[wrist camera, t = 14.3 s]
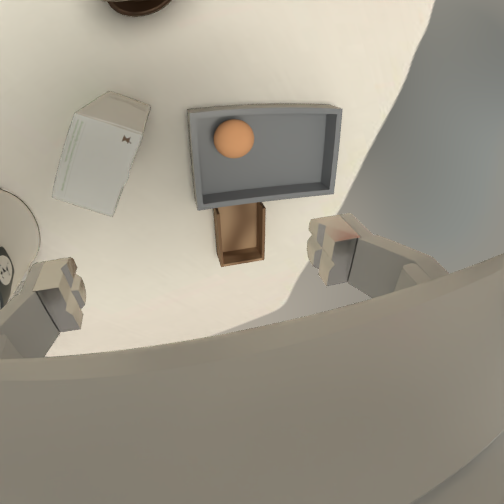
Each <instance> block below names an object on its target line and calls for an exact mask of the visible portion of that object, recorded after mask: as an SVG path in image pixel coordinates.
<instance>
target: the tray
mask: <svg viewBox="0 0 504 504" xmlns="http://www.w3.org/2000/svg"><path fill="white" fill-rule="evenodd" d="M187 111H188V126H189V139H190V151H191V163H192V174H193V184H194V194H195V201H196V205H197V210H205V209H212V208H219V207H226V206H233V205H241V204H249V203H257V202H265V201H273V200H282V199H291V198H300V197H309V196H319V195H329V194H334V187H335V179H336V170H337V161H338V152H339V142H340V131H341V120H342V109H341V108H338V107H335V106H332V105H326V104H248V105H230V106H217V107H205V108H195V109H187ZM230 119H238V120H242V121H244V122H246V123H247V124H248V125H249V126H250V127H251V129H252V131H253V133H254V144H253V146H252V148H251V150H250V151H249V152H248V153H247V154H246V155H244V156H242V157H240V158H228V157H225V156H223V155H222V154H220V153H219V152H218V151H217V149H216V147H215V145H214V133H215V131H216V129H217V127H218V126H219V125H220V124H221V123H223V122H224V121H227V120H230Z"/></svg>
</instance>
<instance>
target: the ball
mask: <svg viewBox="0 0 504 504" xmlns="http://www.w3.org/2000/svg"><path fill="white" fill-rule="evenodd" d="M253 144H254V133H253V131H252V129H251V127H250V126H249V125H248V124H247V123H246V122H244V121H242V120H238V119H230V120H227V121H224V122H223V123H221V124H220V125H219V126H218V127H217V129H216V131H215V133H214V145H215V147H216V149H217V151H218V152H219V153H220V154H222V155H223V156H225V157H228V158H240V157H242V156H244V155H246V154H247V153H248V152H249V151H250V150H251V148H252V146H253Z"/></svg>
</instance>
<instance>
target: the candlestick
mask: <svg viewBox="0 0 504 504" xmlns="http://www.w3.org/2000/svg"><path fill="white" fill-rule="evenodd" d="M102 1H107V2H108V3H109V5H110V6H111V7H112V8H113V9H114V10H115V11H116V12H118V13H120V14H122V15H126V16H132V17H138V16H145V15H149V14H152V13H155V12H157V11H159V10H160V9H162V8H164V7H165V6H166V5H167V4H169V2H170V1H171V0H102Z"/></svg>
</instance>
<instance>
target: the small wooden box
mask: <svg viewBox="0 0 504 504" xmlns="http://www.w3.org/2000/svg"><path fill="white" fill-rule="evenodd" d="M265 209H266V208H265V207H264V205H263V204H262V202H257V203H249V204H241V205H233V206H226V207H219V208H213V211H214V223H215V235H216V247H217V255H218V258H219V262H220V265H221V267H224V266H230V265H236V264H242V263H248V262H254V261H259V260H264V253H265Z"/></svg>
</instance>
